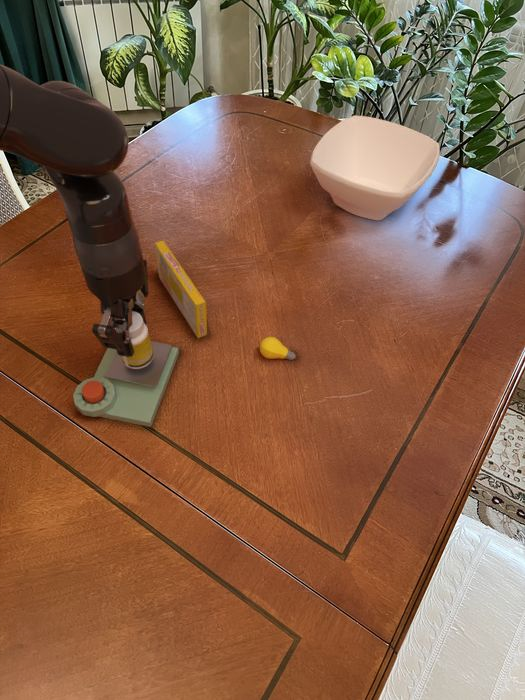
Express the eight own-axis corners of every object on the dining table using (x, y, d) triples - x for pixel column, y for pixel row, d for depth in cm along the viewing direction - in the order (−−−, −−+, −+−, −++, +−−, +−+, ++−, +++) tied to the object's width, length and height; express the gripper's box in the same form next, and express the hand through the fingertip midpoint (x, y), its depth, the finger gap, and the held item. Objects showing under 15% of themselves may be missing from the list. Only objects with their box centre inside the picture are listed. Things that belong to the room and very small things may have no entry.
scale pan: (156, 387, 85) (155, 386, 84) (104, 377, 86) (104, 376, 85) (172, 345, 89) (172, 344, 89) (124, 336, 90) (123, 335, 90)
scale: (148, 432, 83) (145, 422, 81) (72, 417, 85) (66, 406, 82) (179, 352, 92) (177, 341, 90) (109, 339, 94) (105, 328, 91)
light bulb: (258, 345, 93) (265, 329, 91) (291, 359, 94) (300, 343, 92) (254, 358, 91) (262, 341, 88) (289, 371, 91) (298, 355, 89)
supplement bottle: (160, 354, 87) (152, 318, 80) (139, 375, 84) (129, 340, 78) (136, 340, 88) (127, 303, 82) (115, 360, 86) (103, 324, 79)
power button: (100, 405, 83) (98, 399, 82) (80, 401, 83) (78, 395, 82) (108, 388, 85) (105, 382, 84) (89, 384, 85) (86, 378, 84)
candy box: (209, 334, 95) (206, 301, 88) (197, 339, 94) (193, 306, 87) (169, 273, 103) (163, 238, 96) (158, 277, 102) (151, 242, 96)
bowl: (394, 254, 107) (408, 204, 97) (291, 212, 114) (295, 162, 104) (438, 191, 118) (453, 141, 109) (342, 156, 125) (349, 106, 116)
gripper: (102, 211, 74) (125, 299, 88) (55, 290, 66) (89, 374, 79) (158, 220, 73) (172, 308, 87) (117, 301, 65) (140, 384, 78)
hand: (132, 339), depth 83 cm, fingers closed on supplement bottle, 4 cm apart
